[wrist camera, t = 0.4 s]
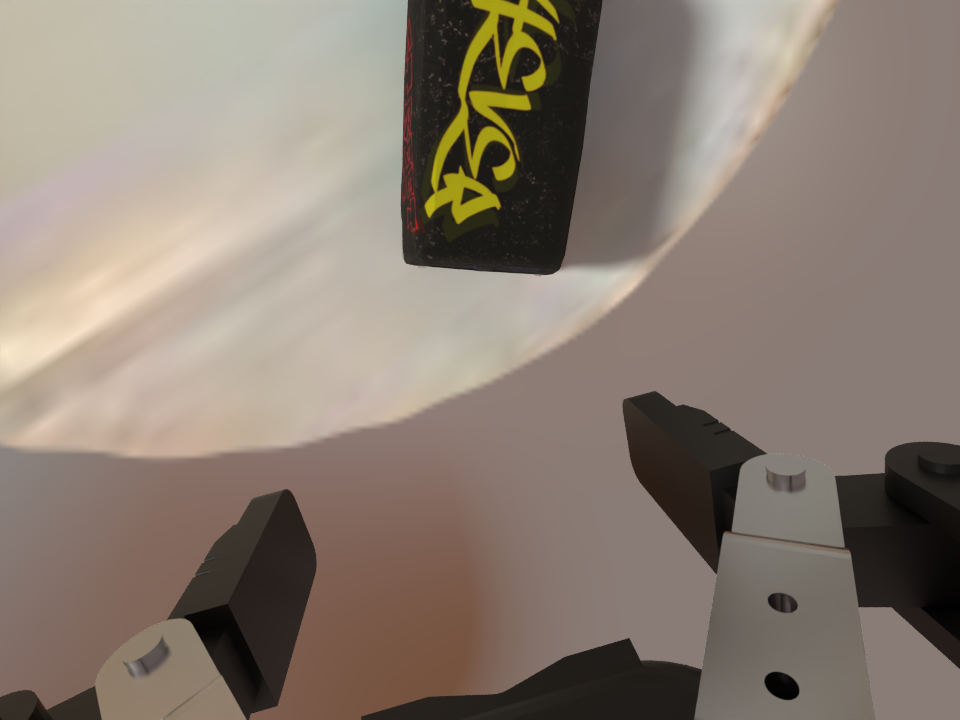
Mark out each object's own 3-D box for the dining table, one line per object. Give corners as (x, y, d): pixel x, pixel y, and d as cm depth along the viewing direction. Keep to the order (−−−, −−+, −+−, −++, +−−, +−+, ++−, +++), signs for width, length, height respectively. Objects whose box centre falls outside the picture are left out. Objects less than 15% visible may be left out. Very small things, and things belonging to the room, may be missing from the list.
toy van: (587, -129, 31) (664, -277, 21) (539, 270, 38) (581, 292, 29) (415, -164, 29) (416, -339, 20) (399, 260, 36) (394, 280, 27)
